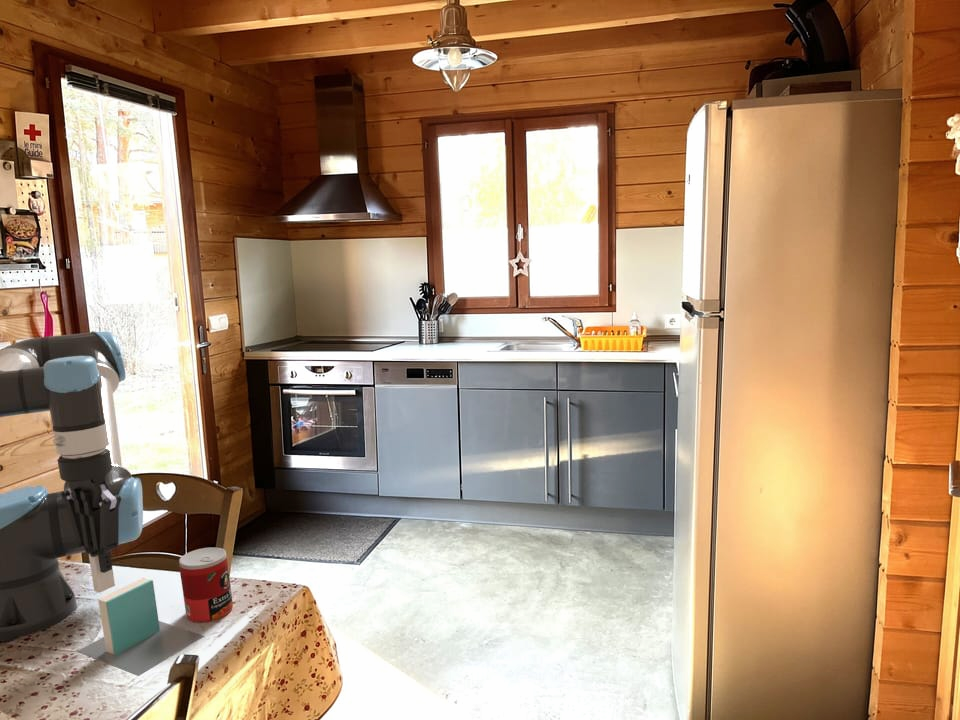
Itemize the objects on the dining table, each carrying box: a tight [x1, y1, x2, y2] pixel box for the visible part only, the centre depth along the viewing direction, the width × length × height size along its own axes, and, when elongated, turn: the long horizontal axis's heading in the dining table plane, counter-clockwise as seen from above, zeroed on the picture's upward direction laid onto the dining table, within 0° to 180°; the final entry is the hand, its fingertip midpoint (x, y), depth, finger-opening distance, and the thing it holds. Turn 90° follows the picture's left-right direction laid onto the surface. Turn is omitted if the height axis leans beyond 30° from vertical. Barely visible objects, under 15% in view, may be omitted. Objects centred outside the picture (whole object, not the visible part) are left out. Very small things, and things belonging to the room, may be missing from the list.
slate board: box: [76, 620, 205, 677], centre depth 116 cm, size 16×12×1 cm
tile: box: [97, 577, 160, 655], centre depth 116 cm, size 2×8×9 cm, turn 150°
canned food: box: [178, 546, 234, 624], centre depth 124 cm, size 8×8×11 cm
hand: (104, 588), depth 118 cm, fingers closed
